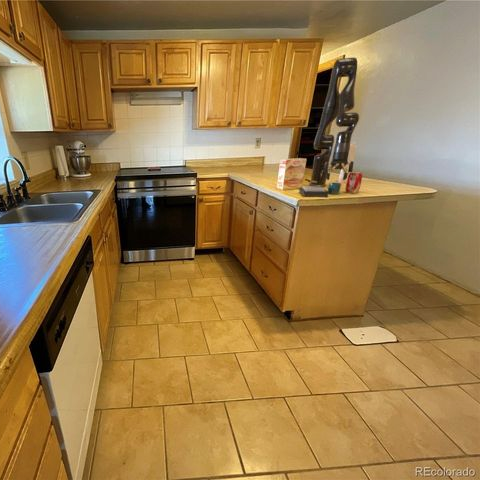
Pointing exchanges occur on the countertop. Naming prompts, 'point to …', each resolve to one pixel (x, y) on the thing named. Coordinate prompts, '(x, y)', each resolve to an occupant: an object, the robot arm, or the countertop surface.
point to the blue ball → (334, 188)
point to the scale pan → (313, 188)
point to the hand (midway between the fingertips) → (335, 179)
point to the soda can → (353, 182)
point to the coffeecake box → (291, 173)
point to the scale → (313, 193)
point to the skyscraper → (350, 158)
